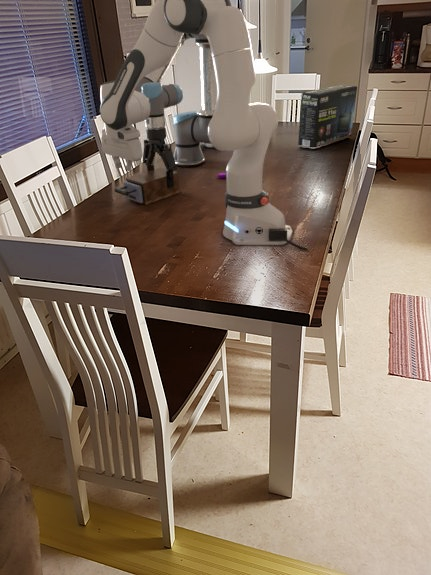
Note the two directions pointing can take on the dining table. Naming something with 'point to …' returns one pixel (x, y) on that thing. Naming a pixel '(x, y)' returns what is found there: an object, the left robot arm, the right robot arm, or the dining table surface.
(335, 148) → the dining table surface
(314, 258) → the dining table surface
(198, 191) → the dining table surface
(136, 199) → the drawer
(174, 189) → the cabinet
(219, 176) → the handgun
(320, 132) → the router box
